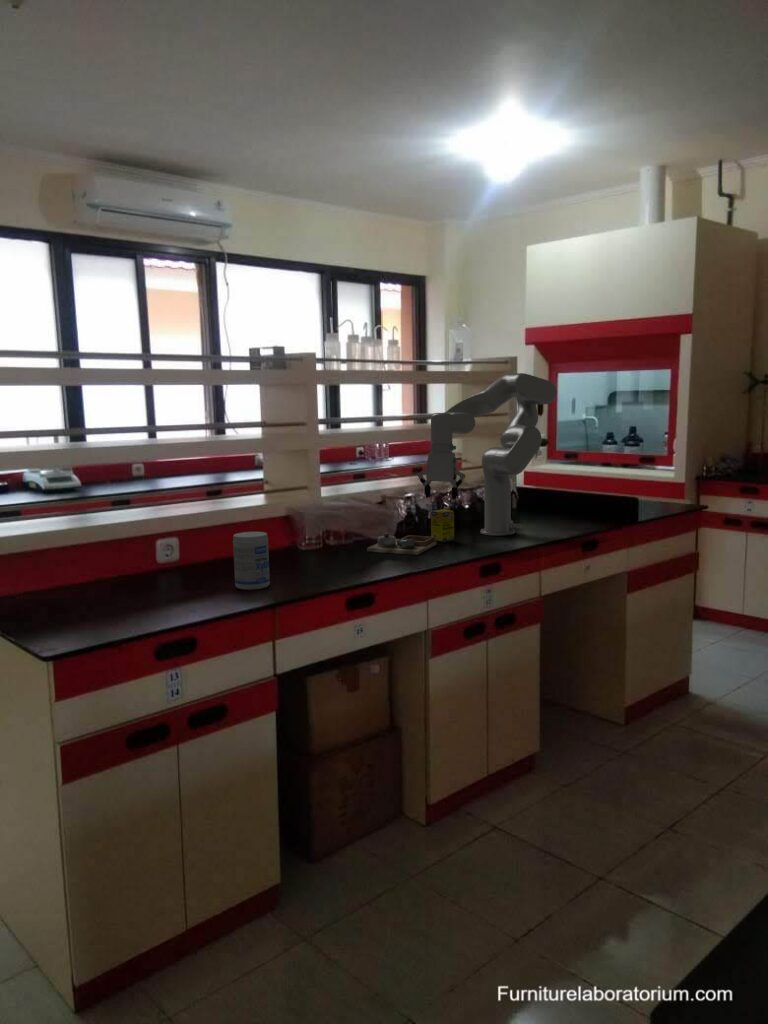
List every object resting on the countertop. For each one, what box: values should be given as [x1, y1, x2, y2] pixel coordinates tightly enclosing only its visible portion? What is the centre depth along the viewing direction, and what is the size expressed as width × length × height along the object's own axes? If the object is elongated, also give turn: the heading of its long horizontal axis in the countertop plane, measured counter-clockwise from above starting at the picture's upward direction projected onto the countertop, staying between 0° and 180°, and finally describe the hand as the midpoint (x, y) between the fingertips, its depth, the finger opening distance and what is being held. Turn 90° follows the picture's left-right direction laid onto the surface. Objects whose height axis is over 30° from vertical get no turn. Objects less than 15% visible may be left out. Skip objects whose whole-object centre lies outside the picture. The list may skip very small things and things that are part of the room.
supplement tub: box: [232, 531, 271, 591], centre depth 214 cm, size 10×10×15 cm
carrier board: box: [366, 532, 437, 556], centre depth 264 cm, size 18×18×5 cm
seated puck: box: [399, 538, 415, 549], centre depth 259 cm, size 5×5×2 cm
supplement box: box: [430, 508, 455, 544], centre depth 274 cm, size 6×6×11 cm
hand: (441, 498), depth 272 cm, fingers open, 9 cm apart
